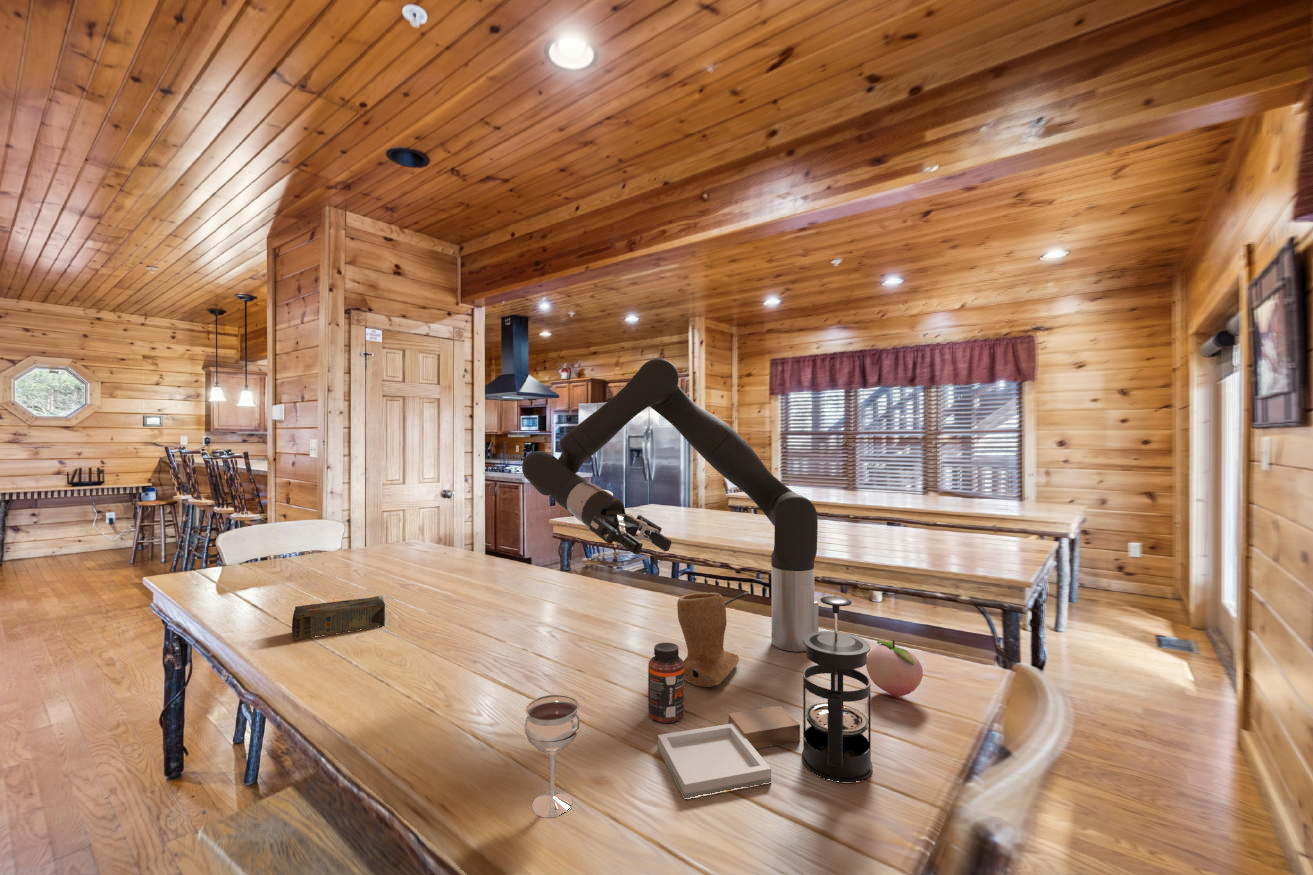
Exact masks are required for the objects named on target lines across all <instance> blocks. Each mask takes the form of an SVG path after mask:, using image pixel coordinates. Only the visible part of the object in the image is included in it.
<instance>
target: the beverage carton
mask: <svg viewBox="0 0 1313 875" xmlns="http://www.w3.org/2000/svg"><path fill="white" fill-rule="evenodd" d="M291 621H292V622H291V634H292V641H293V640H295V641H302V640H301V639H303V640H307V639H306V638H309V639H313V638H312V637H315V636H322V635H329V636H331V635H330V634H335V635H337V634H336V633H342V634H344V633H343V632H348V631H354V632H357V631H356V630H360V629H367V628H372V629H375V628H374V627H378V626H384V627H385V626H386V602H385V599H384V597H383V596H382V595H377V596H372V597H367V598H366V597H365V598H356V599H355V598H354V599H346V600H337V601H330V602H322V603H312V604H304V605H298V606H295V607H294V611H293V614H292V620H291ZM378 628H379V627H378ZM367 630H368V629H367ZM360 631H361V630H360ZM348 633H349V632H348ZM322 637H323V636H322Z"/></svg>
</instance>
